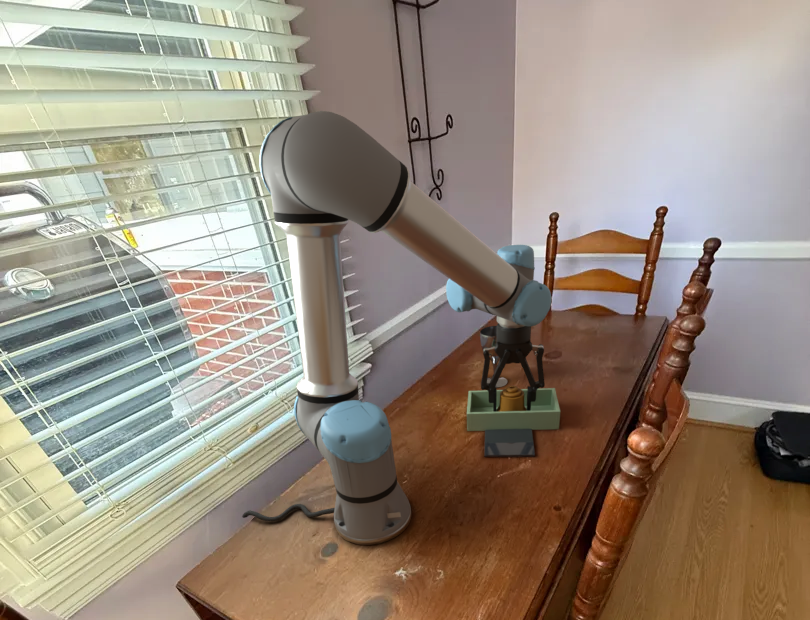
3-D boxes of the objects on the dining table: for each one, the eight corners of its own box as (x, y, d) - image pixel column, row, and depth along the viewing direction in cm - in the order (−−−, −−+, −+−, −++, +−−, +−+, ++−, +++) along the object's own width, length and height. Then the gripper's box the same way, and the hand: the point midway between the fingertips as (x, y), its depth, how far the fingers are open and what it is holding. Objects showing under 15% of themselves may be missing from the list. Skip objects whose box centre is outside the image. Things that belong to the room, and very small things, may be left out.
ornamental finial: (490, 416, 120) (512, 406, 123) (510, 427, 115) (533, 416, 118) (490, 387, 116) (513, 377, 119) (511, 397, 110) (534, 387, 113)
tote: (467, 431, 117) (466, 413, 114) (469, 407, 126) (468, 390, 123) (558, 429, 113) (560, 411, 110) (553, 404, 122) (555, 387, 119)
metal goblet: (514, 383, 134) (516, 331, 125) (489, 390, 132) (489, 338, 123) (499, 373, 140) (500, 323, 131) (475, 380, 138) (474, 330, 130)
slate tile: (484, 457, 107) (484, 455, 106) (485, 431, 115) (484, 429, 115) (534, 456, 105) (535, 454, 104) (531, 430, 113) (531, 428, 113)
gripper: (559, 313, 106) (552, 404, 120) (468, 319, 110) (471, 406, 123) (563, 325, 100) (555, 419, 114) (466, 331, 104) (469, 421, 118)
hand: (511, 412), depth 119 cm, fingers closed on ornamental finial, 7 cm apart
